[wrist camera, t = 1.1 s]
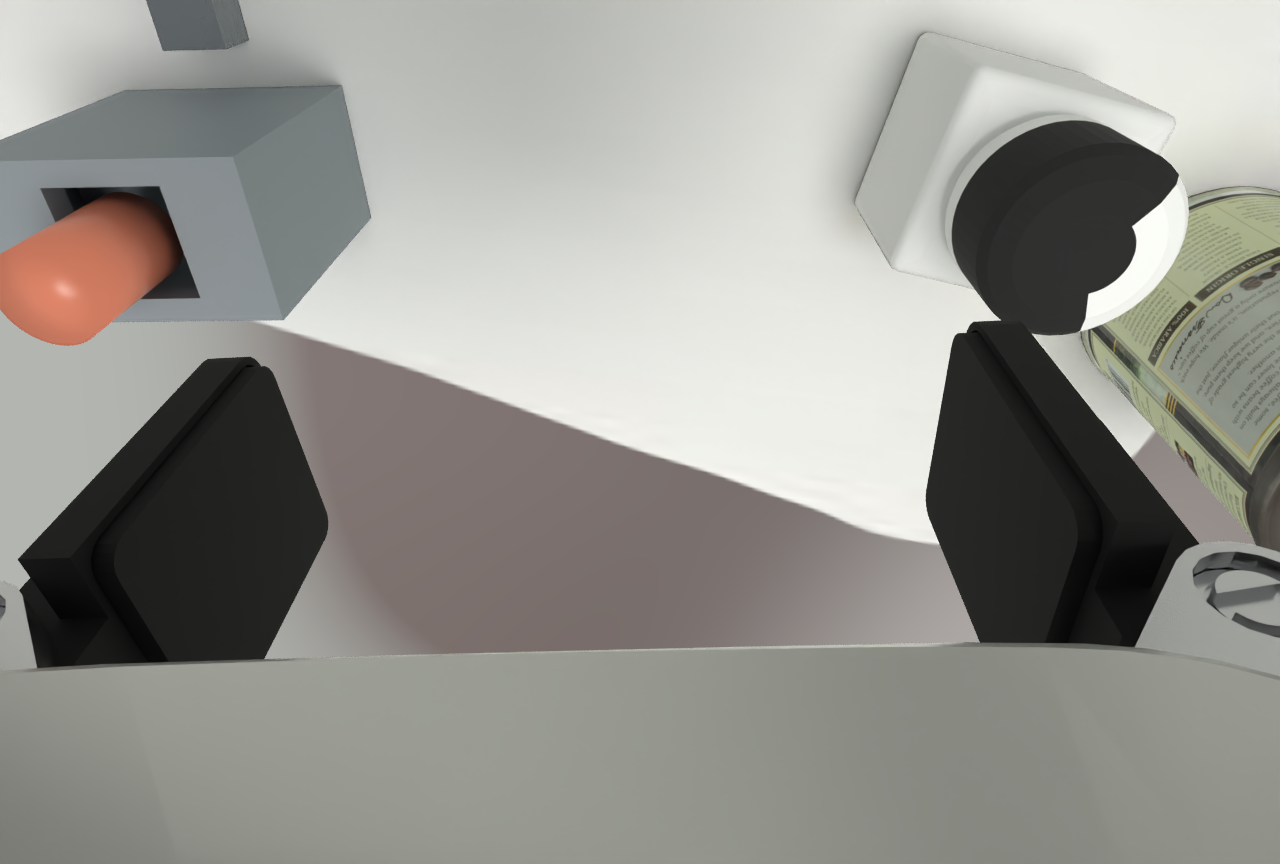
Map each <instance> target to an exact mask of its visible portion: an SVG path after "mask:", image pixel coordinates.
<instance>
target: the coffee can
mask: <svg viewBox="0 0 1280 864" xmlns="http://www.w3.org/2000/svg"><path fill="white" fill-rule="evenodd" d="M1188 207H1189V215H1188V226H1187V230H1186V234H1185V238H1184V241H1183V243H1182V246H1181V249H1180V251H1179V253H1178V255H1177V257H1176V259H1175V261H1174V263H1173V264H1172V266H1171V267H1170V269H1169V270H1168V272H1167V273H1166V275H1165V276H1164V277H1163V279H1162V280H1161V281H1160V282H1159V283H1158V285H1157V286H1156V287H1155V288H1154V289H1153V290H1152V291H1151V292H1150V293H1149V294H1148V295H1147V296H1146V297H1145V298H1144V299H1143V300H1142V301H1140V302H1139V303H1138V304H1136V305H1135V306H1134V307H1132V308H1131V309H1130V310H1128V311H1126V312H1125V313H1123V314H1122V315H1120V316H1118V317H1116V318H1114V319H1112V320H1110V321H1108V322H1106V323H1104V324H1102V325H1099V326H1096V327H1094V328H1091V329H1088V330H1084V331H1082V341H1083V343H1084V346H1085V349H1086V351H1087V353H1088V355H1089V357H1090V359H1091V360H1092V362H1093V364H1094V365H1095V366H1096V367H1097V368H1098V369H1099V370H1100V372H1102V373H1103V374H1104V375H1105V376H1107V377H1108V378H1109V379H1110V380H1111V381H1112V382H1113V383H1114V384H1115V385H1116V387H1117V388H1118V389H1119V390H1120V391H1121V392H1122V393H1123V394H1124V396H1125V397H1126V398H1127V399H1128V400H1129V401H1130V402H1131V403H1132V405H1133V406H1134V407H1135V408H1136V409H1137V410H1138V411H1139V412H1140V414H1141V415H1142V416H1143V417H1144V418H1145V419H1146V420H1147V421H1148V422H1149V423H1150V424H1151V425H1152V427H1153V428H1154V429H1155V430H1156V431H1157V432H1158V433H1159V434H1160V435H1161V437H1163V439H1164V440H1165V441H1166V442H1167V443H1168V444H1169V445H1170V447H1171V448H1172V449H1173V450H1174V451H1175V452H1176V453H1177V454H1178V455H1179V456H1180V458H1181V459H1182V460H1183V461H1184V462H1185V463H1186V464H1187V466H1188V467H1189V468H1190V469H1191V470H1192V471H1193V472H1194V473H1195V475H1196V476H1197V477H1198V478H1199V479H1200V480H1201V481H1202V483H1203V484H1204V485H1205V486H1206V487H1207V488H1208V489H1209V491H1210V492H1212V493H1213V495H1214V496H1215V497H1216V498H1217V499H1218V500H1219V501H1220V502H1221V503H1222V505H1223V506H1224V507H1225V508H1226V509H1227V510H1228V511H1229V512H1230V514H1231V515H1232V516H1233V517H1234V518H1235V519H1236V520H1237V521H1238V522H1239V524H1240V525H1241V526H1242V527H1243V528H1244V529H1245V530H1246V531H1247V532H1248V534H1249V535H1251V537H1252V538H1253V539H1254V541H1255V544H1256V546H1259V547H1263V548H1267V549H1270V550H1274V551H1277V552H1280V192H1277V191H1274V190H1269V189H1264V188H1256V187H1234V188H1225V189H1219V190H1215V191H1210V192H1206V193H1202V194H1199V195H1196V196H1193V197H1189V198H1188Z"/></svg>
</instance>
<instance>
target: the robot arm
mask: <svg viewBox="0 0 1280 864" xmlns="http://www.w3.org/2000/svg"><path fill="white" fill-rule="evenodd" d="M926 507H927V512H928V516H929V519H930V521H931V524H932V526H933V529H934V531H935V534H936V536H937V539H938V541H939V543H940V546H941V548H942V551H943V553H944V556H945V558H946V560H947V563H948V565H949V568H950V570H951V573H952V575H953V578H954V580H955V582H956V585H957V587H958V590H959V592H960V595H961V597H962V599H963V602H964V605H965V607H966V609H967V612H968V614H969V617H970V619H971V622H972V624H973V626H974V629H975V631H976V634H977V636H978V639H979V641H980V643H974V642H973V643H971V642H970V643H969V642H965V643H914V644H863V645H814V646H770V647H769V646H765V647H718V648H717V647H716V648H673V649H631V650H629V649H628V650H591V651H590V650H587V651H546V652H507V653H469V654H430V655H393V656H361V657H358V656H357V657H325V658H323V657H321V658H290V659H289V658H288V659H264V658H265V656H266V654H267V652H268V650H269V648H270V646H271V644H272V642H273V640H274V639H275V637H276V635H277V633H278V631H279V629H280V627H281V625H282V623H283V621H284V619H285V617H286V615H287V613H288V611H289V609H290V607H291V605H292V603H293V601H294V599H295V597H296V595H297V593H298V591H299V589H300V587H301V585H302V583H303V581H304V579H305V578H306V575H307V574H308V572H309V569H310V568H311V565H312V564H313V562H314V560H315V558H316V556H317V554H318V552H319V550H320V548H321V546H322V544H323V542H324V540H325V538H326V535H327V530H328V516H327V512H326V510H325V507H324V504H323V502H322V499H321V496H320V494H319V491H318V488H317V486H316V483H315V481H314V478H313V475H312V473H311V470H310V468H309V465H308V462H307V460H306V457H305V455H304V452H303V449H302V447H301V444H300V442H299V439H298V436H297V434H296V431H295V429H294V426H293V423H292V421H291V418H290V415H289V413H288V410H287V408H286V405H285V403H284V400H283V397H282V395H281V392H280V390H279V387H278V384H277V382H276V379H275V377H274V375H273V373H272V371H271V370H270V369H269V368H267V367H265V366H262V367H261V366H260V364H259V363H258V362H257V361H256V360H255V359H253V358H251V357H237V358H216V359H207V360H206V361H204V362H203V363H202V364H201V365H200V366H199V367H198V368H197V369H196V370H195V371H194V372H193V373H192V375H191V376H190V377H189V378H188V379H187V380H186V381H185V382H184V383H183V384H182V385H181V386H180V388H178V389H177V391H176V392H175V393H174V394H173V395H172V396H171V397H170V398H169V399H168V400H167V401H166V402H165V403H164V404H163V406H162V407H161V408H160V409H159V410H158V411H157V412H156V413H155V414H154V415H153V416H152V417H151V418H150V419H149V420H148V422H147V423H146V424H145V425H144V426H143V427H142V428H141V429H140V430H139V431H138V432H137V433H136V434H135V435H134V436H133V437H132V438H131V439H130V441H129V442H128V443H127V444H126V445H125V446H124V447H123V448H122V449H121V450H120V451H119V452H118V453H117V454H116V455H115V457H114V458H113V459H112V460H111V461H110V462H109V463H108V464H107V465H106V466H105V467H104V468H103V469H102V470H101V471H100V473H99V474H98V475H97V476H96V477H95V478H94V479H93V480H92V481H91V482H90V483H89V484H88V485H87V486H86V487H85V489H84V490H83V491H82V492H81V493H80V494H79V495H78V496H77V497H76V498H75V499H74V500H73V501H72V502H71V503H70V504H69V505H68V507H67V508H66V509H65V510H64V511H63V512H62V513H61V514H60V515H59V516H58V517H57V518H56V519H55V520H54V521H53V522H52V524H51V525H50V526H49V527H48V528H47V529H46V530H45V531H44V532H43V533H42V534H41V535H40V536H39V537H38V538H37V540H36V541H35V542H34V543H33V544H32V545H31V546H30V547H29V548H28V549H27V550H26V551H25V552H24V553H23V555H21V557H20V558H19V559H18V561H19V562H20V563H21V565H22V566H23V567H24V569H25V570H26V572H27V573H28V574H29V576H30V579H29V580H28V581H27V582H26V583H25V584H24V586H23V587H22V588H21V589H20V590H19V589H18V588H17V586H15V585H12V584H10V583H7V582H5V581H0V864H1280V552H1277V551H1274V550H1270V549H1267V548H1263V547H1259V546H1255V545H1252V544H1247V543H1238V542H1229V541H1220V542H1209V543H1201V544H1199V543H1198V542H1197V540H1196V539H1195V538H1194V537H1193V535H1192V534H1191V533H1190V532H1189V530H1188V529H1187V528H1186V527H1185V525H1184V524H1183V523H1182V521H1181V520H1180V519H1179V518H1178V516H1177V515H1176V514H1175V513H1174V511H1173V510H1172V509H1171V508H1170V507H1169V505H1168V504H1167V503H1166V501H1165V500H1164V499H1163V498H1162V496H1161V495H1160V494H1159V493H1158V491H1157V490H1156V489H1155V488H1154V486H1153V485H1152V484H1151V482H1150V481H1149V480H1148V479H1147V477H1146V476H1145V475H1144V474H1143V472H1142V471H1141V470H1140V469H1139V468H1138V466H1137V465H1136V464H1135V462H1134V461H1133V460H1132V459H1131V457H1130V456H1129V455H1128V454H1127V452H1126V451H1125V450H1124V449H1123V447H1122V446H1121V445H1120V444H1119V442H1118V441H1117V440H1116V439H1115V437H1114V436H1113V435H1112V433H1111V432H1110V431H1109V430H1108V428H1107V427H1106V426H1105V425H1104V423H1103V422H1102V421H1101V420H1100V419H1099V418H1098V417H1097V416H1096V415H1095V413H1094V412H1093V411H1092V410H1091V408H1090V407H1089V406H1088V405H1087V403H1086V402H1085V401H1084V400H1083V398H1082V397H1081V396H1080V394H1079V393H1078V392H1077V391H1076V389H1075V388H1074V387H1073V386H1072V384H1071V383H1070V382H1069V381H1068V379H1067V378H1066V377H1065V376H1064V374H1063V373H1062V372H1061V371H1060V369H1059V368H1058V367H1057V366H1056V364H1055V363H1054V362H1053V360H1052V359H1051V358H1050V357H1049V355H1048V354H1047V353H1046V352H1045V350H1044V349H1043V348H1042V347H1041V345H1040V344H1039V343H1038V342H1037V340H1036V339H1035V338H1034V337H1033V335H1032V334H1031V333H1030V332H1029V330H1028V329H1027V328H1026V326H1025V325H1024V324H1023V323H1022V322H1021V321H1020V320H1003V321H982V322H973V323H972V324H971V325H970V326H969V328H968V330H967V333H958V334H957V335H955V337H954V339H953V343H952V347H951V353H950V359H949V364H948V370H947V376H946V381H945V387H944V393H943V398H942V404H941V410H940V416H939V421H938V427H937V433H936V438H935V444H934V450H933V455H932V461H931V467H930V472H929V478H928V484H927V489H926Z"/></svg>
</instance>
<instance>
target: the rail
mask: <svg viewBox="0 0 1280 864" xmlns="http://www.w3.org/2000/svg"><path fill="white" fill-rule="evenodd" d="M146 1H147V4H148V7H149V10H150V13H151V16H152V19H153V22H154V25H155V28H156V31H157V34H158V37H159V40H160V43H161V46H162V49H163V51H172V50H214V49H228V48H230V47H233V46H235V45H238V44H240V43H243V42H245V41H248V36H247V33H246V29H245V25H244V22H243V18H242V15H241V11H240V7H239V4H238V0H146Z"/></svg>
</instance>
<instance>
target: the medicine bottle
mask: <svg viewBox="0 0 1280 864" xmlns="http://www.w3.org/2000/svg"><path fill="white" fill-rule="evenodd" d="M1175 125H1176V122H1175V119H1174V117H1173V116H1172V115H1170V114H1168V113H1166V112H1164V111H1162V110H1160V109H1158V108H1156V107H1153V106H1151V105H1149V104H1147V103H1145V102H1143V101H1141V100H1139V99H1136V98H1134V97H1132V96H1130V95H1128V94H1126V93H1124V92H1121V91H1119V90H1117V89H1115V88H1113V87H1111V86H1109V85H1107V84H1104V83H1102V82H1100V81H1098V80H1096V79H1094V78H1092V77H1090V76H1087V75H1085V74H1082V73H1079V72H1075V71H1071V70H1068V69H1064V68H1060V67H1057V66H1053V65H1049V64H1046V63H1042V62H1038V61H1035V60H1031V59H1027V58H1024V57H1020V56H1016V55H1013V54H1009V53H1005V52H1002V51H998V50H994V49H991V48H987V47H983V46H979V45H976V44H972V43H968V42H965V41H961V40H957V39H954V38H950V37H946V36H943V35H939V34H935V33H932V32H929V33H925V34H923V35H921V36H920V38H919V39H918V42H917V44H916V47H915V49H914V52H913V54H912V57H911V59H910V62H909V64H908V67H907V70H906V72H905V75H904V77H903V80H902V82H901V85H900V87H899V90H898V92H897V95H896V98H895V100H894V103H893V105H892V108H891V110H890V113H889V115H888V118H887V120H886V123H885V126H884V128H883V131H882V133H881V136H880V138H879V141H878V143H877V146H876V148H875V151H874V154H873V156H872V159H871V161H870V164H869V166H868V169H867V171H866V174H865V176H864V179H863V182H862V184H861V187H860V189H859V192H858V194H857V197H856V200H855V206H856V208H857V210H858V211H859V213H860V215H861V216H862V218H863V220H864V222H865V223H866V225H867V227H868V228H869V230H870V232H871V234H872V235H873V237H874V239H875V240H876V242H877V244H878V246H879V247H880V249H881V251H882V252H883V254H884V256H885V258H886V259H887V261H888V263H889V264H890V266H891V268H893V269H895V270H897V271H900V272H904V273H908V274H913V275H917V276H921V277H925V278H930V279H934V280H938V281H942V282H947V283H951V284H955V285H959V286H963V287H968V288H972V289H975V290H976V291H977V293H978V294H979V295H980V297H981V298H982V299H983V301H984V302H985V303H986V305H987V306H988V307H989V308H990V310H991V311H992V312H993V313H994V314H995V315H996V316H997V317H998V318H999V319H1001V320H1002V321H1003V320H1020V321H1021V322H1022V323H1023V324H1024V325H1025V326H1026V328H1027V329H1028V330H1029V332H1030V333H1033V334H1040V335H1064V334H1071V333H1077V332H1081V331H1084V330H1088V329H1091V328H1094V327H1096V326H1099V325H1102V324H1104V323H1106V322H1108V321H1110V320H1112V319H1114V318H1116V317H1118V316H1120V315H1122V314H1123V313H1125V312H1126V311H1128V310H1130V309H1131V308H1132V307H1134V306H1135V305H1136V304H1138V303H1139V302H1140V301H1142V300H1143V299H1144V298H1145V297H1146V296H1147V295H1148V294H1149V293H1150V292H1151V291H1152V290H1153V289H1154V288H1155V287H1156V286H1157V285H1158V283H1159V282H1160V281H1161V280H1162V279H1163V277H1164V276H1165V275H1166V273H1167V272H1168V270H1169V269H1170V267H1171V266H1172V264H1173V263H1174V261H1175V259H1176V257H1177V255H1178V253H1179V251H1180V249H1181V246H1182V243H1183V241H1184V238H1185V234H1186V230H1187V226H1188V215H1189V207H1188V197H1187V194H1186V190H1185V186H1184V184H1183V182H1182V180H1181V178H1180V176H1179V174H1178V173H1177V172H1176V170H1175V169H1174V168H1173V167H1172V165H1171V164H1170V163H1168V162H1167V161H1166V160H1165V159H1164V158H1163V157H1161V156H1160V155H1159V154H1160V152H1161V151H1162V149H1163V147H1164V146H1165V144H1166V142H1167V140H1168V139H1169V137H1170V135H1171V134H1172V132H1173V130H1174V128H1175Z"/></svg>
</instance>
